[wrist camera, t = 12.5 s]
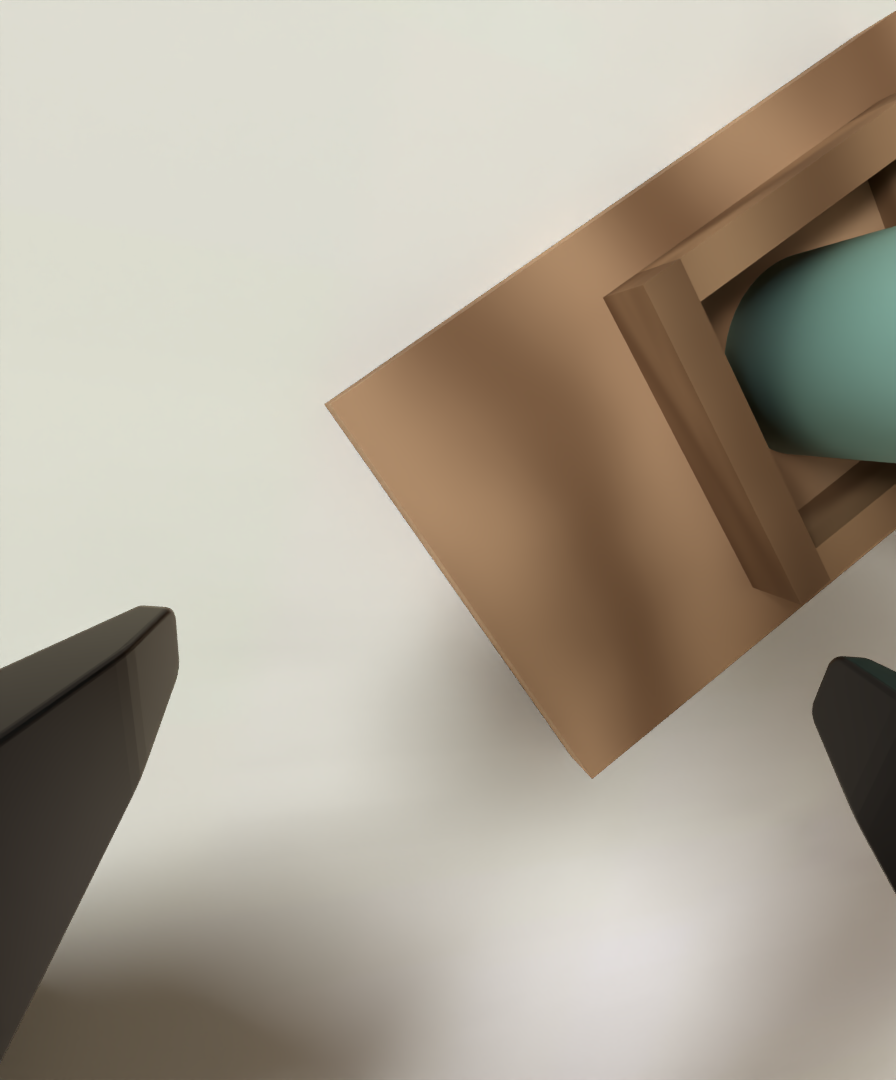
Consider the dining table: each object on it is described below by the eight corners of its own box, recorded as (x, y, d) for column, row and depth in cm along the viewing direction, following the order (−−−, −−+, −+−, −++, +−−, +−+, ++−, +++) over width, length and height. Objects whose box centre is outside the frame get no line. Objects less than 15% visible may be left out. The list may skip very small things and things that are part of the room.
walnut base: (570, 755, 23) (625, 815, 19) (324, 404, 18) (340, 403, 15) (986, 417, 25) (1098, 418, 22) (856, 34, 21) (972, -37, 17)
